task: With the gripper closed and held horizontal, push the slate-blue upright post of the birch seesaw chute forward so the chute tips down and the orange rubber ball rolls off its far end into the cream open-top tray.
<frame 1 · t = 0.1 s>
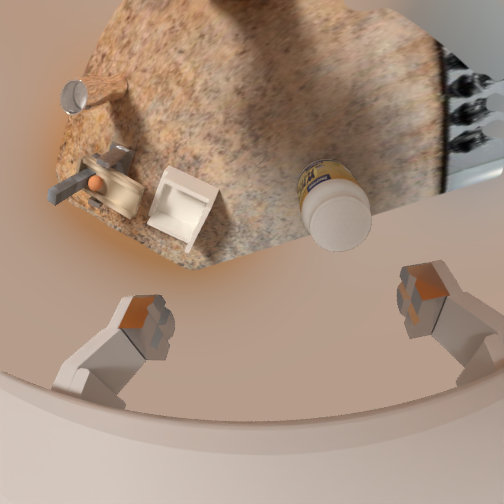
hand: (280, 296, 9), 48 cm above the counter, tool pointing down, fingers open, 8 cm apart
supplement tub: (324, 184, 56), on the counter
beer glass: (116, 87, 45), on the counter
lever: (96, 192, 47), point 12 cm above the counter, hinge at -8.0°, touching ball
ball: (95, 183, 49), point 9 cm above the counter, tilted 15°, touching lever
fulcrum: (117, 168, 56), on the counter
cream open-top tray: (183, 199, 60), on the counter
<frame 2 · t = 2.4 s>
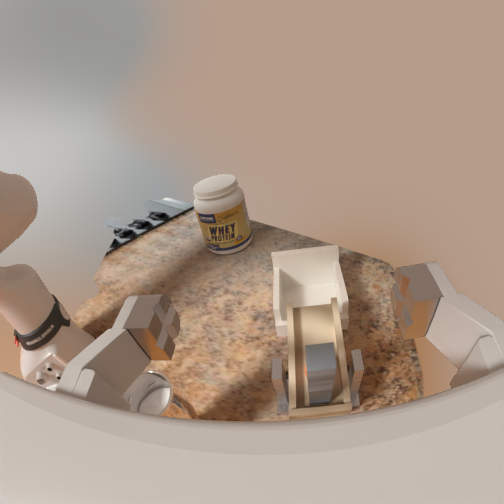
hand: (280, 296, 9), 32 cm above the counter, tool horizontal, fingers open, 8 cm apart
supplement tub: (230, 243, 73), on the counter
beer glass: (195, 436, 33), on the counter
lever: (316, 343, 30), point 12 cm above the counter, hinge at -8.0°, touching ball
fulcrum: (317, 394, 36), on the counter
cream open-top tray: (310, 307, 50), on the counter
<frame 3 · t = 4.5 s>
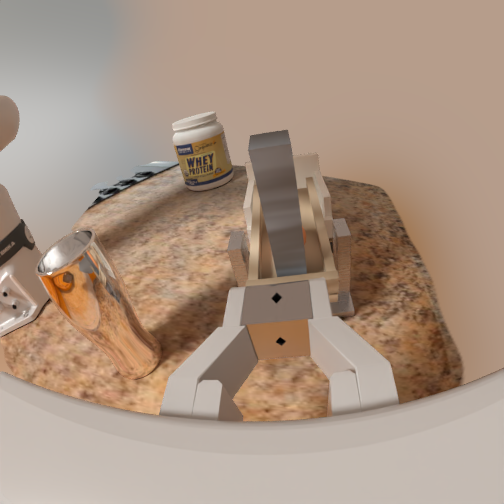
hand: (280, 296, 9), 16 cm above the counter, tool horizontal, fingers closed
supplement tub: (211, 182, 67), on the counter
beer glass: (139, 358, 28), on the counter
lever: (283, 199, 25), point 12 cm above the counter, hinge at -8.0°, touching ball
fulcrum: (297, 301, 30), on the counter
cream open-top tray: (290, 221, 44), on the counter
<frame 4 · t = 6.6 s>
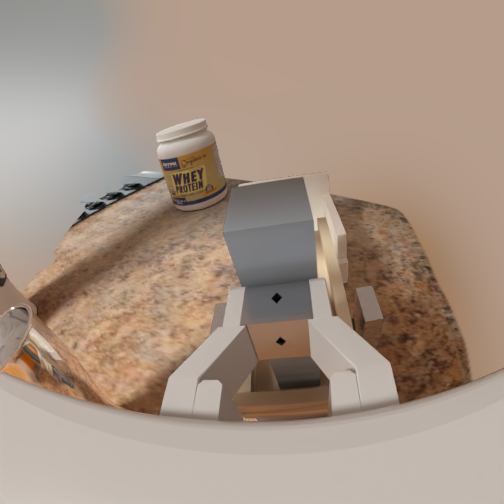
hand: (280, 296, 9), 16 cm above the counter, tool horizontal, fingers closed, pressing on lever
supplement tub: (202, 200, 60), on the counter
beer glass: (116, 434, 20), on the counter
lever: (289, 265, 17), point 12 cm above the counter, hinge at -6.3°, touching ball, gripper
fulcrum: (303, 377, 23), on the counter
cream open-top tray: (294, 257, 37), on the counter
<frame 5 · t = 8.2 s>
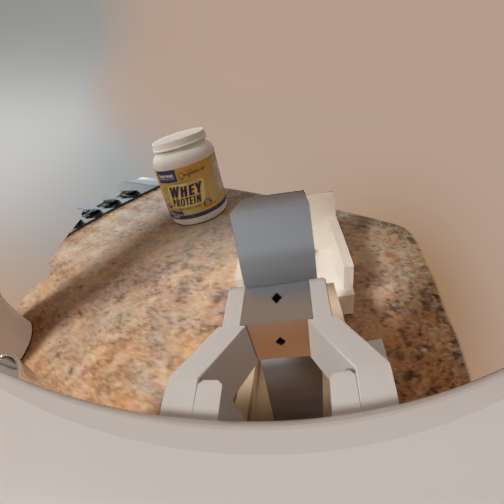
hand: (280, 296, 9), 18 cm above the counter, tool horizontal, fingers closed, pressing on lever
supplement tub: (200, 212, 58), on the counter
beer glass: (115, 466, 18), on the counter
lever: (294, 312, 17), point 11 cm above the counter, hinge at 14.7°, touching gripper
cream open-top tray: (296, 283, 35), on the counter
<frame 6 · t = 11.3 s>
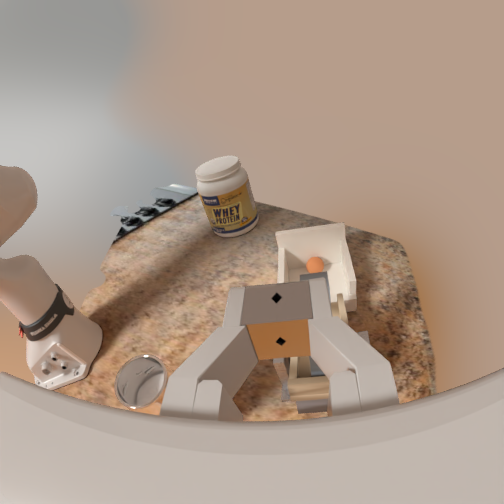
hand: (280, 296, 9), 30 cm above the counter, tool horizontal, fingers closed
supplement tub: (236, 225, 71), on the counter
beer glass: (197, 424, 33), on the counter
lever: (319, 316, 31), point 11 cm above the counter, hinge at 14.8°
ball: (315, 265, 49), point 2 cm above the counter, tilted 67°, touching cream open-top tray
fulcrum: (324, 379, 35), on the counter
cream open-top tray: (317, 288, 48), on the counter
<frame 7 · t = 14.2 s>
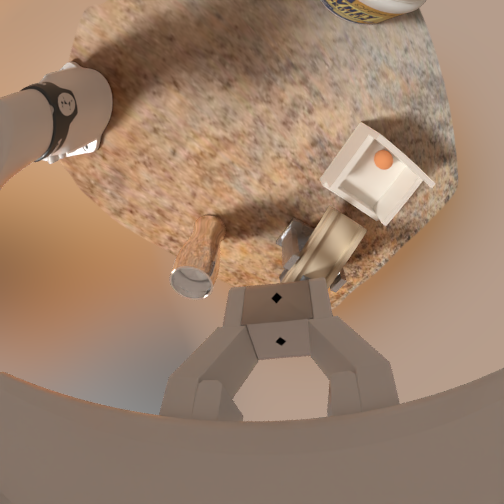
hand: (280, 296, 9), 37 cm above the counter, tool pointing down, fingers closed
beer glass: (210, 228, 52), on the counter
lever: (329, 269, 42), point 11 cm above the counter, hinge at 14.8°
ball: (383, 159, 39), point 2 cm above the counter, tilted 65°, touching cream open-top tray
fulcrum: (310, 243, 52), on the counter
cream open-top tray: (367, 169, 42), on the counter
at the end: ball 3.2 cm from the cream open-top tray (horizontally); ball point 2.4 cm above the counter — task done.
